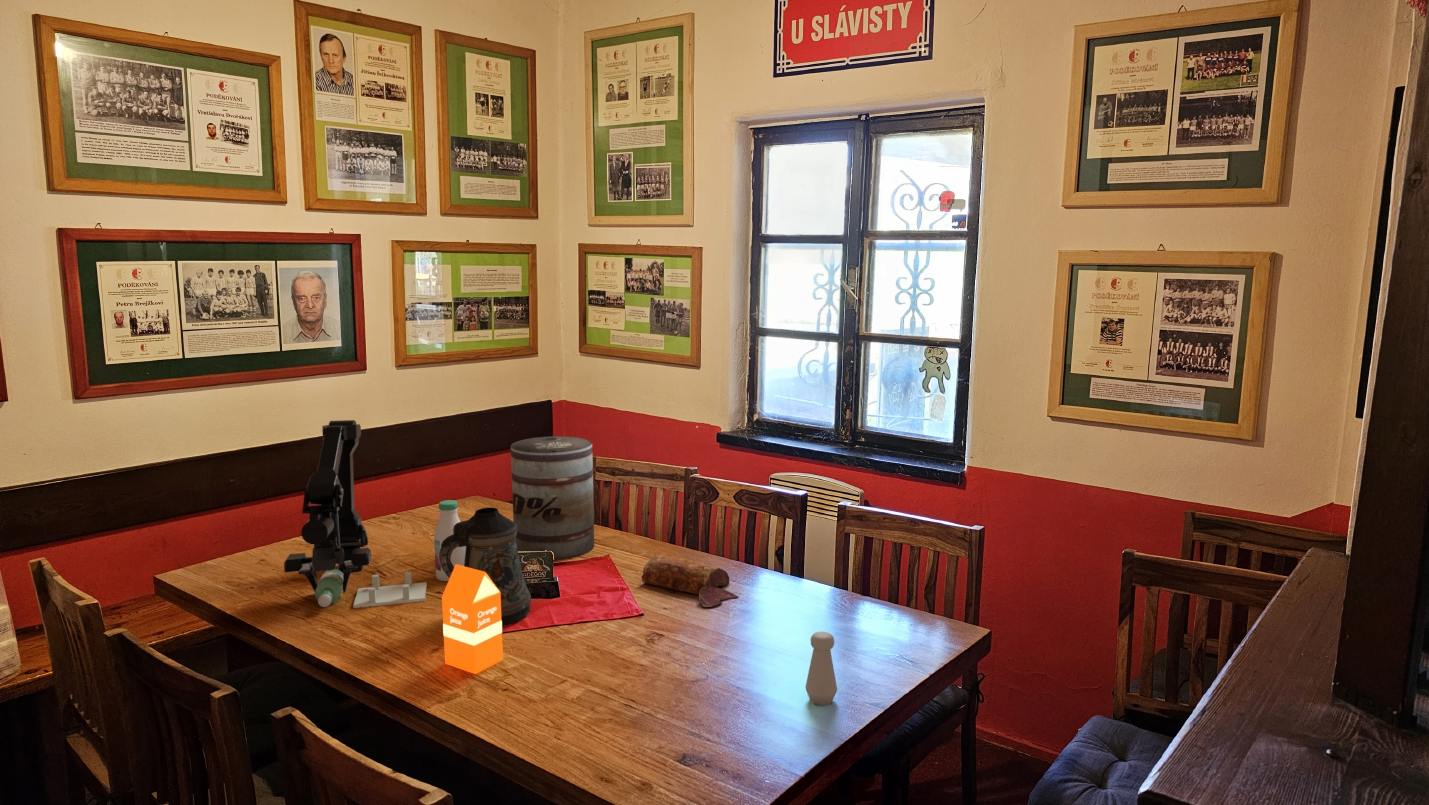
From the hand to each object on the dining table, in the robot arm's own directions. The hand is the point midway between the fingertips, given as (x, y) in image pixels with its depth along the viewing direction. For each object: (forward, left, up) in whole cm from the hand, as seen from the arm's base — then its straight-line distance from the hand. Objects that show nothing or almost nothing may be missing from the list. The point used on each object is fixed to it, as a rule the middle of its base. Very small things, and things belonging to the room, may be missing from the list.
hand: (330, 593), depth 214 cm
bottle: (+3, 0, -1) cm, 3 cm away
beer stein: (+22, +37, -1) cm, 43 cm away
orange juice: (+45, +33, -1) cm, 56 cm away
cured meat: (+18, +86, -2) cm, 88 cm away
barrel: (-24, +56, -1) cm, 61 cm away
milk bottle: (-7, +28, -1) cm, 29 cm away
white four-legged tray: (+3, +14, -1) cm, 14 cm away
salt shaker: (+79, +95, -1) cm, 124 cm away
